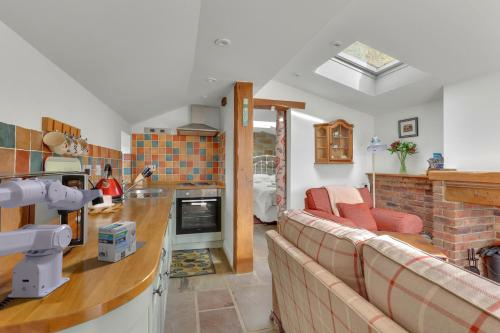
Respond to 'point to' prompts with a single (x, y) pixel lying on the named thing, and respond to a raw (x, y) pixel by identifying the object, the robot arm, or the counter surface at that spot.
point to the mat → (139, 245)
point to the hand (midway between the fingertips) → (90, 203)
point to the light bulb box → (116, 241)
